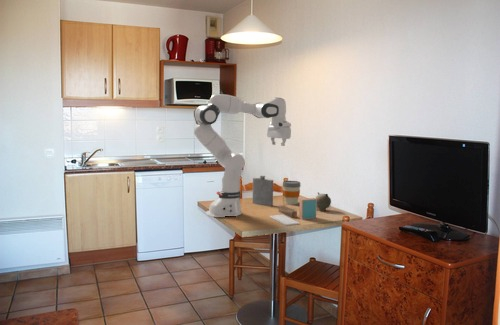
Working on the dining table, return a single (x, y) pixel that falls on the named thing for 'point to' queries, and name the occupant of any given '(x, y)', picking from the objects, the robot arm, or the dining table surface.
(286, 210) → the push stick
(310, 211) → the tile
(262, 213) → the dining table surface
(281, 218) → the tool mat
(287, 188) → the reusable coffee cup
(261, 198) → the hip flask
